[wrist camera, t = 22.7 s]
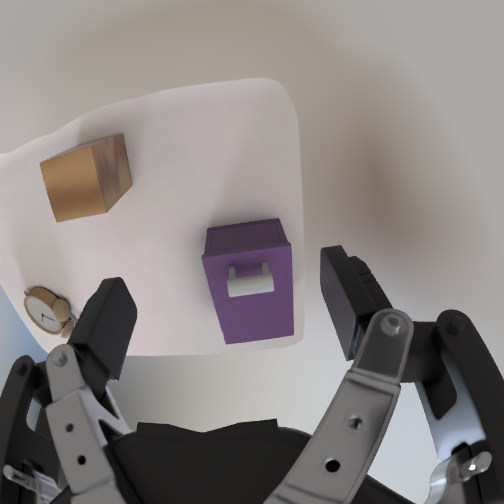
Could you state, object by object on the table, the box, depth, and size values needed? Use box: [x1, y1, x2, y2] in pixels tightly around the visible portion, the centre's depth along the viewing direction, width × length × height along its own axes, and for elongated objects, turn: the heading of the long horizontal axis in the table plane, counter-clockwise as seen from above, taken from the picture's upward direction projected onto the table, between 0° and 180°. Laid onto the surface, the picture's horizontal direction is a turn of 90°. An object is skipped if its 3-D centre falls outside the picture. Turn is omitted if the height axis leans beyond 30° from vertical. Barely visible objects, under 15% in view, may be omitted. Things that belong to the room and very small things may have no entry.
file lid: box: [202, 242, 294, 344], centre depth 35 cm, size 17×11×5 cm, turn 7°
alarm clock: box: [24, 287, 78, 338], centre depth 46 cm, size 11×5×15 cm
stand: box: [40, 133, 132, 222], centre depth 30 cm, size 8×8×10 cm
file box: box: [204, 218, 288, 254], centre depth 42 cm, size 16×11×8 cm
